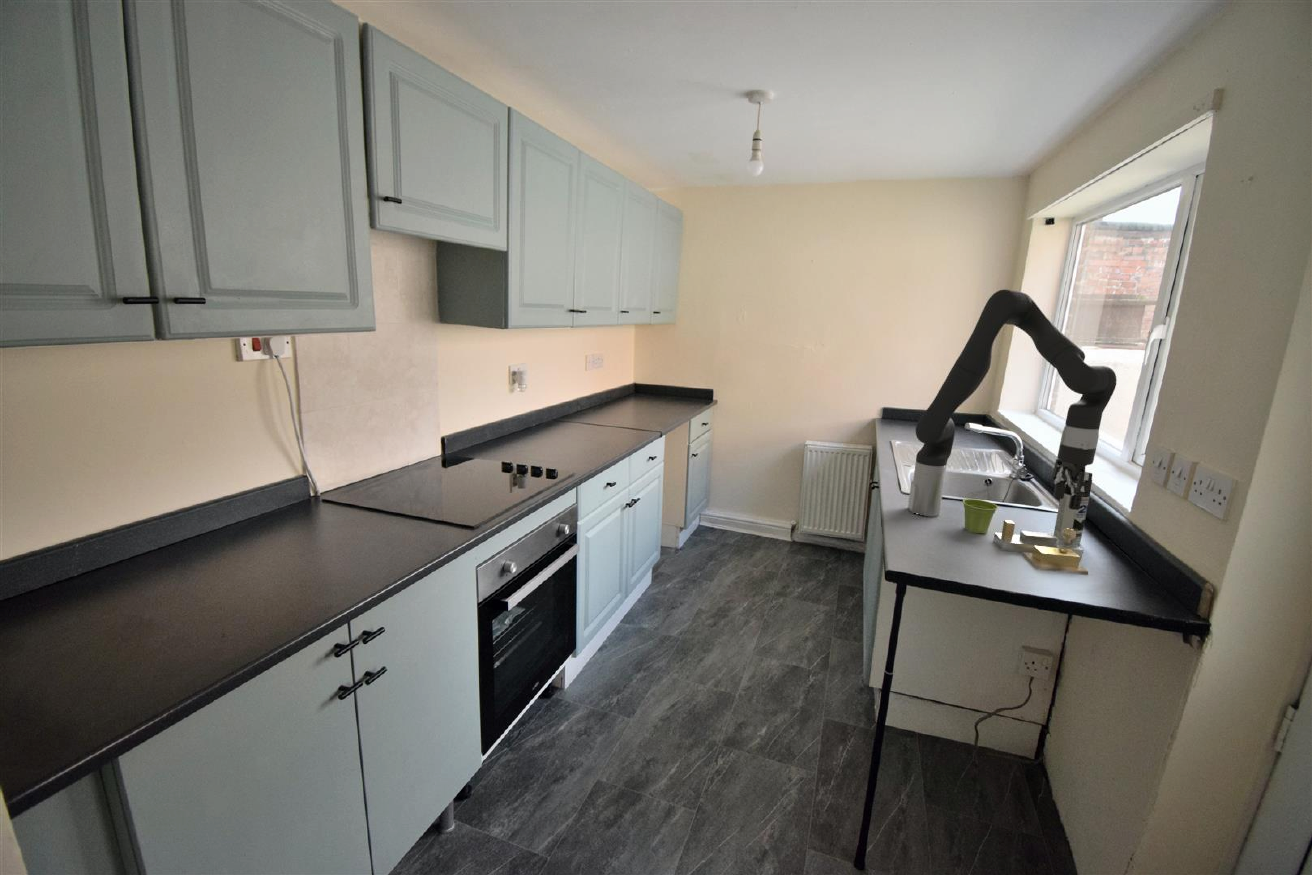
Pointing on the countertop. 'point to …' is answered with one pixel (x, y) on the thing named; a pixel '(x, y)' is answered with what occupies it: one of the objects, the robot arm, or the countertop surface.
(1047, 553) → the lever cap
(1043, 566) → the cork mat
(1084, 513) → the spray can
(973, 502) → the plant pot
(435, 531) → the countertop surface
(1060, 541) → the plane body
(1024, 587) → the countertop surface
